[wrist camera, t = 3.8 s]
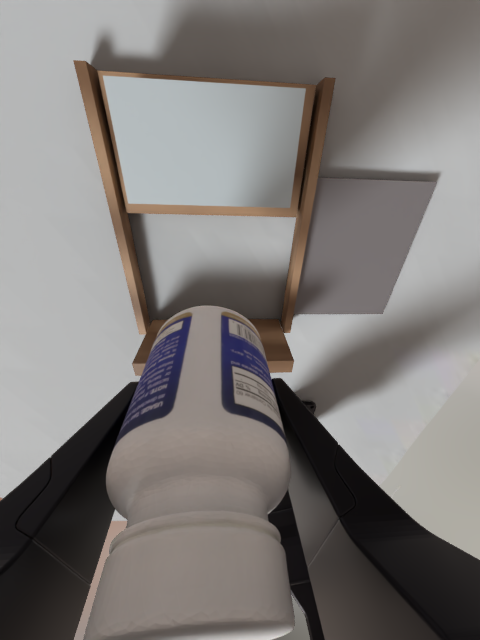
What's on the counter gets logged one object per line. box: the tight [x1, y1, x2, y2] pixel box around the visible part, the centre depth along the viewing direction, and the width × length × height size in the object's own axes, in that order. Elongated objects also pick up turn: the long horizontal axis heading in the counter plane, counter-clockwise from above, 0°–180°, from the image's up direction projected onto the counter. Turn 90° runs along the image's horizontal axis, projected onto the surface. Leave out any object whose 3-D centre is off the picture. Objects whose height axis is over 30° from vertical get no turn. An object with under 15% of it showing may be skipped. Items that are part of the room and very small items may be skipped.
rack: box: [73, 60, 335, 376], centre depth 16 cm, size 18×14×6 cm
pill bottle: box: [83, 306, 295, 640], centre depth 8 cm, size 5×5×9 cm
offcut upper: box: [103, 76, 306, 208], centre depth 13 cm, size 5×9×2 cm, turn 88°
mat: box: [294, 178, 437, 314], centre depth 20 cm, size 11×9×1 cm
